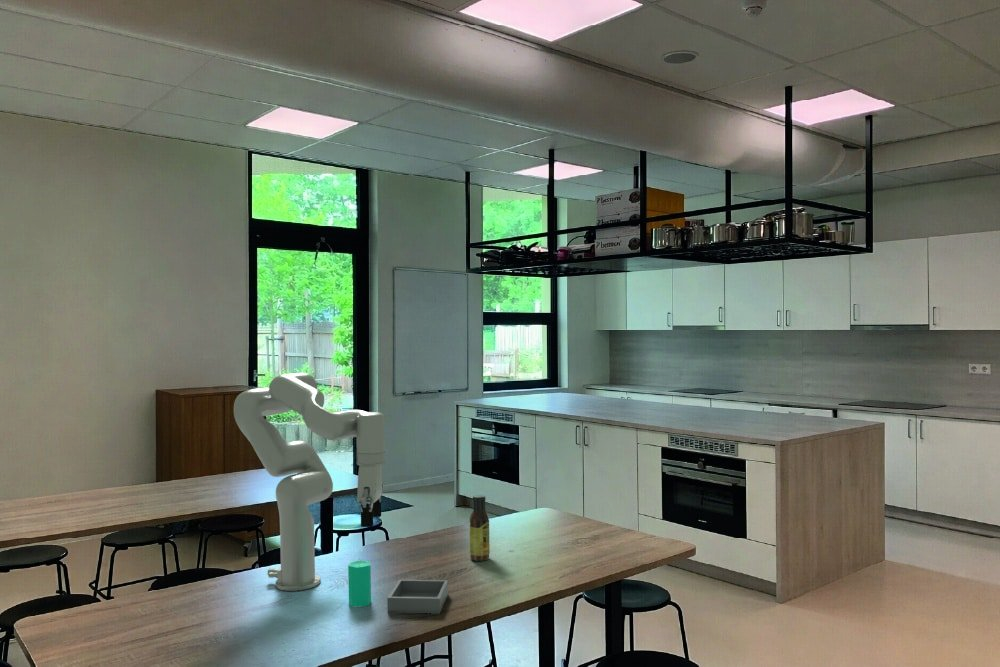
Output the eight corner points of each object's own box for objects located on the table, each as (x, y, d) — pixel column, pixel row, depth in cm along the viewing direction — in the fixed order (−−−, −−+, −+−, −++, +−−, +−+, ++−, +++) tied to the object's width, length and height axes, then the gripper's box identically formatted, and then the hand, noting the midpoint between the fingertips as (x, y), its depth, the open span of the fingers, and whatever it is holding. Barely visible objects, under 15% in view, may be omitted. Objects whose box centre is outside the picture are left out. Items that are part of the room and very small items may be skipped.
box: (387, 613, 189) (387, 597, 189) (399, 594, 202) (399, 579, 202) (439, 614, 188) (439, 598, 188) (448, 594, 201) (447, 580, 201)
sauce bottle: (487, 562, 228) (486, 498, 228) (467, 561, 230) (466, 498, 230) (491, 556, 235) (490, 494, 235) (472, 555, 236) (471, 493, 236)
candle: (360, 608, 192) (359, 563, 192) (343, 604, 195) (343, 559, 195) (376, 601, 197) (375, 556, 197) (359, 597, 200) (358, 553, 200)
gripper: (364, 452, 206) (365, 513, 207) (348, 464, 189) (349, 530, 189) (391, 452, 206) (391, 513, 206) (377, 464, 189) (378, 530, 189)
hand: (371, 521), depth 198 cm, fingers open, 9 cm apart
